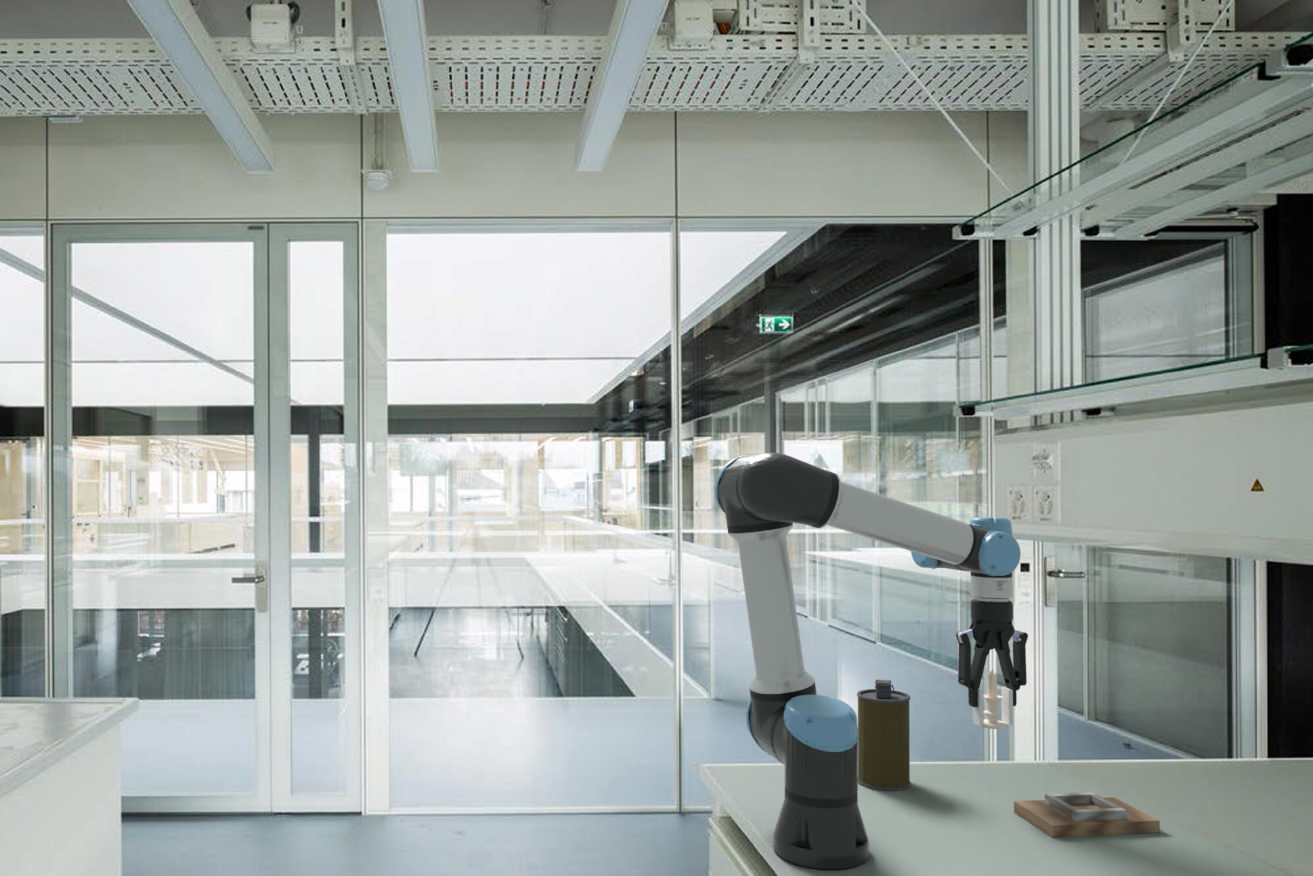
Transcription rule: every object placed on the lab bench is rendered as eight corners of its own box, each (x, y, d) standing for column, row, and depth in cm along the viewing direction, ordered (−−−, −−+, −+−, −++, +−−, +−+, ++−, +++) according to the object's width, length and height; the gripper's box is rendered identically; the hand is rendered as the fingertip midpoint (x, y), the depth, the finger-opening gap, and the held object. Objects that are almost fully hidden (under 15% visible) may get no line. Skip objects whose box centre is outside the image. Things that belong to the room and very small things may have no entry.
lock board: (1052, 837, 152) (1052, 816, 152) (1014, 812, 164) (1013, 792, 164) (1159, 832, 155) (1159, 811, 155) (1114, 808, 167) (1114, 788, 167)
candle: (1010, 729, 166) (1010, 672, 167) (981, 728, 167) (980, 671, 168) (1003, 722, 171) (1003, 667, 172) (975, 721, 172) (974, 666, 173)
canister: (912, 793, 174) (912, 688, 175) (857, 789, 176) (857, 685, 177) (908, 776, 185) (908, 677, 186) (856, 772, 187) (856, 674, 188)
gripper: (956, 601, 165) (957, 730, 164) (1047, 601, 168) (1049, 727, 167) (937, 596, 173) (937, 720, 171) (1025, 596, 176) (1026, 717, 174)
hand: (992, 723), depth 169 cm, fingers closed on candle, 5 cm apart
